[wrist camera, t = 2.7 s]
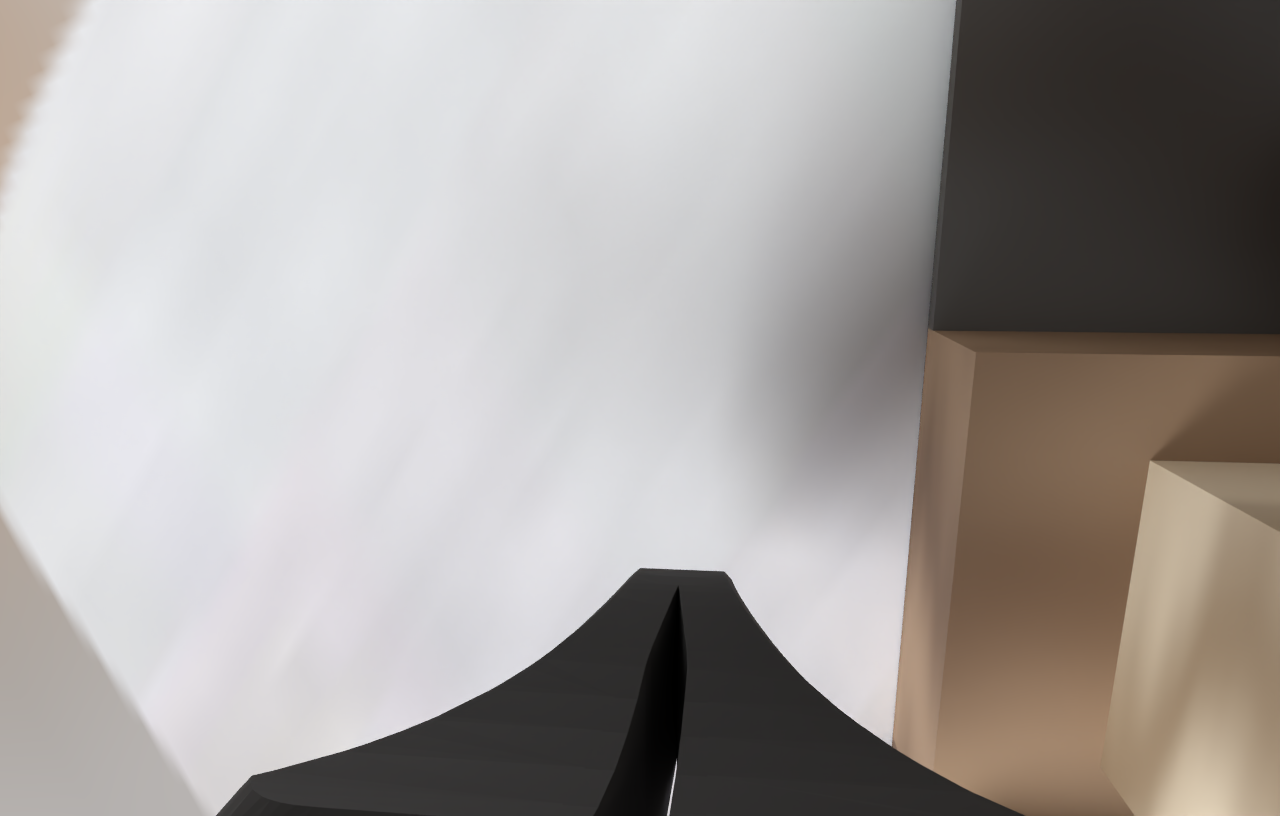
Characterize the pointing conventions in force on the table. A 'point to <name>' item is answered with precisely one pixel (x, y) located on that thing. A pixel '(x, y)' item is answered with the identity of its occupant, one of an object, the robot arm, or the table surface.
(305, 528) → the table surface
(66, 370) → the table surface
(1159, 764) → the birch block
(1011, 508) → the trap track
